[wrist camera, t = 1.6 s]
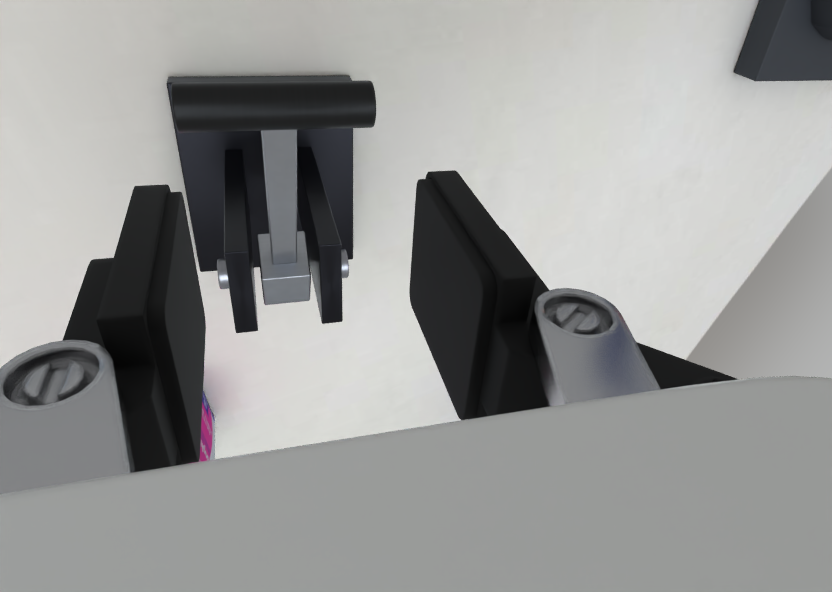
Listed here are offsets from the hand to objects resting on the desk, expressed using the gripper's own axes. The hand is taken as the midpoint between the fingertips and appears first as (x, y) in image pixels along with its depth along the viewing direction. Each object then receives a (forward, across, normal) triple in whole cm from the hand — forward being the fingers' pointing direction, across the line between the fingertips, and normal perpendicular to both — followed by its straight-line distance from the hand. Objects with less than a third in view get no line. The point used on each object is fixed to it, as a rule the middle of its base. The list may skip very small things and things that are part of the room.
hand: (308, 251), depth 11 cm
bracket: (+25, 0, +10) cm, 27 cm away
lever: (+13, 0, +4) cm, 14 cm away
